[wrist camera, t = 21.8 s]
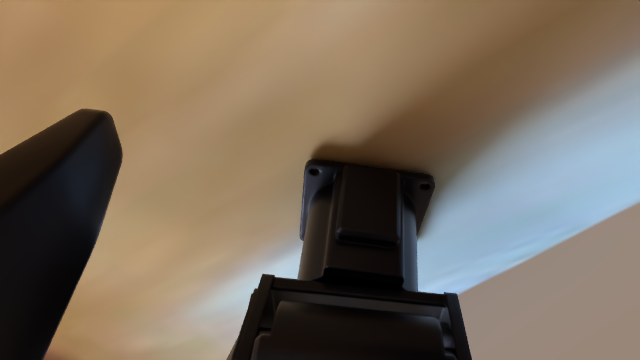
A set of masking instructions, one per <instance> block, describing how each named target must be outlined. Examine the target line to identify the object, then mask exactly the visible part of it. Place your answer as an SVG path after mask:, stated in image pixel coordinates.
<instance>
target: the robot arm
mask: <svg viewBox="0 0 640 360" xmlns="http://www.w3.org/2000/svg"><path fill="white" fill-rule="evenodd" d="M122 155H123V154H122V147H121V144H120V140H119V137H118V134H117V131H116V127H115V124H114V121H113V118H112V116H111V115H110V114H109V113H108V112H106V111H100V110H93V109H80V110H78V111H76V112H74V113H73V114H71V115H69V116H67V117H66V118H64V119H62V120H60V121H59V122H57V123H55V124H53V125H52V126H50V127H48V128H46V129H45V130H43V131H41V132H39V133H38V134H36V135H34V136H32V137H31V138H29V139H27V140H25V141H24V142H22V143H20V144H18V145H17V146H15V147H13V148H11V149H10V150H8V151H6V152H4V153H3V154H1V155H0V360H43V359H44V357H45V354H46V352H47V350H48V348H49V346H50V343H51V341H52V339H53V337H54V335H55V332H56V330H57V328H58V326H59V324H60V321H61V319H62V317H63V315H64V313H65V310H66V308H67V306H68V304H69V302H70V300H71V297H72V295H73V293H74V291H75V289H76V286H77V284H78V282H79V280H80V278H81V275H82V273H83V271H84V269H85V267H86V264H87V262H88V260H89V258H90V256H91V253H92V251H93V249H94V246H95V244H96V241H97V238H98V235H99V232H100V230H101V226H102V223H103V220H104V217H105V214H106V211H107V207H108V204H109V201H110V198H111V195H112V192H113V189H114V185H115V182H116V179H117V176H118V173H119V170H120V166H121V163H122ZM313 168H315V169H318V170H314V169H313ZM422 183H427V184H422ZM434 188H435V180H434V178H433V176H431V175H429V174H424V173H416V172H409V171H401V170H393V169H386V168H378V167H371V166H363V165H356V164H348V163H340V162H333V161H325V160H318V159H312V160H309V161H308V162H307V163H306V166H305V172H304V185H303V199H302V212H301V226H300V239H301V240H303V241H304V242H303V248H302V254H301V261H300V267H299V273H298V279H289V278H279V277H275V275H269V274H262V277H261V280H260V283H259V286H258V289H255V290H254V292H253V294H251V298H250V302H249V306H248V310H247V313H246V316H245V319H244V322H243V325H242V328H241V331H240V334H239V336H238V338H237V340H236V342H235V344H234V346H233V348H232V350H231V352H230V354H229V356H228V358H227V360H472V358H471V354H470V349H469V345H468V340H467V336H466V331H465V327H464V322H463V318H462V313H461V309H460V305H459V300H458V296H457V294H456V293H446V292H444V294H436V293H426V292H418V275H417V235H418V232H419V229H420V227H421V224H422V221H423V218H424V216H425V213H426V210H427V207H428V205H429V202H430V199H431V197H432V194H433V191H434Z"/></svg>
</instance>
